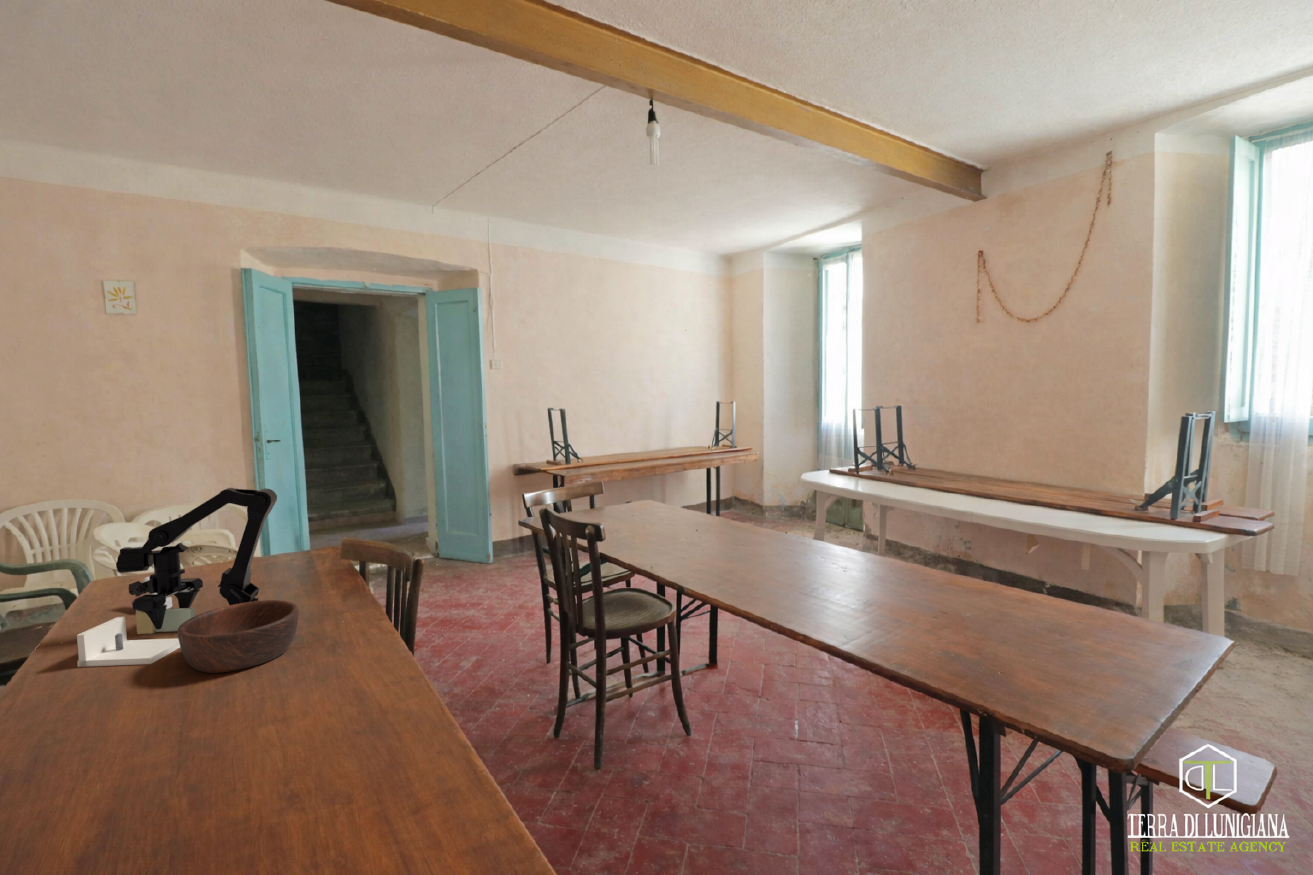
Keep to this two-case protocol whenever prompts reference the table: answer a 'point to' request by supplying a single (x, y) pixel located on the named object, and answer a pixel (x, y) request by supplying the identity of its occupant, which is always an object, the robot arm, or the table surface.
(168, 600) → the wall hook
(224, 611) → the wooden bowl
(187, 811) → the table surface
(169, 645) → the l-shaped pin bracket
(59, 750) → the table surface
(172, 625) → the square socket tool
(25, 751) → the table surface
